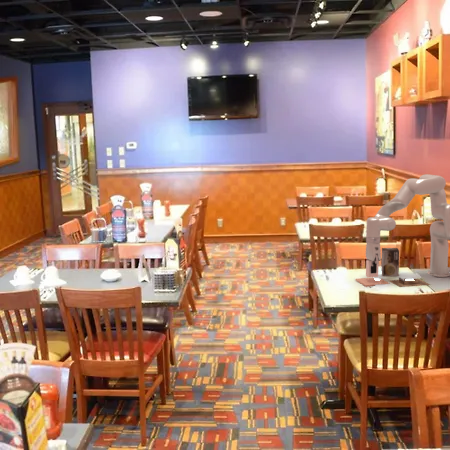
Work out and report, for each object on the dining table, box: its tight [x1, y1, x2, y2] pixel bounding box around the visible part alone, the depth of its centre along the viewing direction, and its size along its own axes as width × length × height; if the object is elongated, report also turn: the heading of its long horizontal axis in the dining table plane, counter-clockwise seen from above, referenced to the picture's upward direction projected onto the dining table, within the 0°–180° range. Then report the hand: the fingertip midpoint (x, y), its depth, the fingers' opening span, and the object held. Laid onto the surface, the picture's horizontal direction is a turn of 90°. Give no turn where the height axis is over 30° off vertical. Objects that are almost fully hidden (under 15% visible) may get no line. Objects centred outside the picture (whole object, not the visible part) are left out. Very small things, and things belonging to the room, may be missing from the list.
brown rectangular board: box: [388, 277, 431, 288], centre depth 333 cm, size 18×14×3 cm
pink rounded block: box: [365, 259, 380, 278], centre depth 336 cm, size 6×3×9 cm, turn 101°
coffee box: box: [381, 247, 400, 277], centre depth 350 cm, size 9×6×16 cm
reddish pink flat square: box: [354, 277, 391, 288], centre depth 338 cm, size 14×14×1 cm
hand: (372, 272), depth 337 cm, fingers closed on pink rounded block, 2 cm apart
